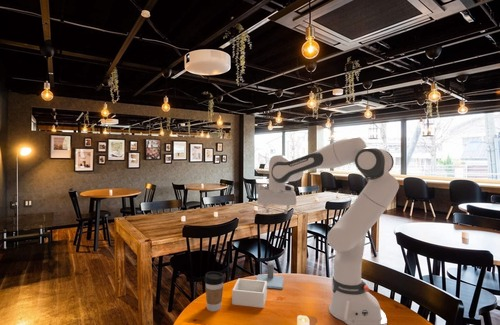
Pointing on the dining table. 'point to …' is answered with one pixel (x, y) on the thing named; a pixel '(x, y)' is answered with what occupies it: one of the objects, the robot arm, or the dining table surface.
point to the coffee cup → (214, 290)
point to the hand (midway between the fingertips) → (276, 213)
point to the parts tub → (249, 293)
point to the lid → (271, 278)
